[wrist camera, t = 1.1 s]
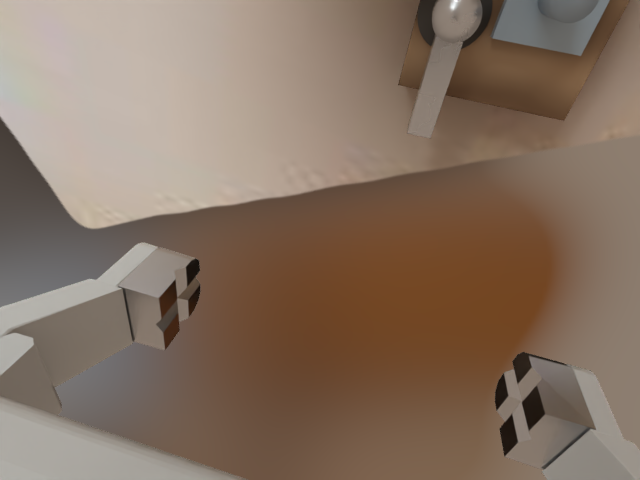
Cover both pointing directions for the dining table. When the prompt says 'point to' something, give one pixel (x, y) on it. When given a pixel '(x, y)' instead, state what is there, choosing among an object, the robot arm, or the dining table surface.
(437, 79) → the lever handle
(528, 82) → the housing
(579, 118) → the dining table surface
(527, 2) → the cover
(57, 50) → the dining table surface
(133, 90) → the dining table surface
